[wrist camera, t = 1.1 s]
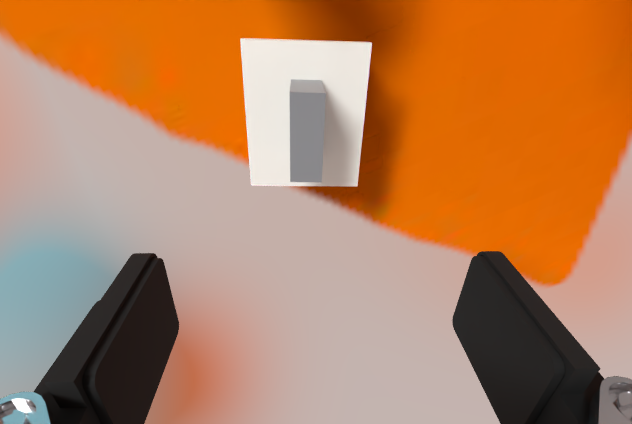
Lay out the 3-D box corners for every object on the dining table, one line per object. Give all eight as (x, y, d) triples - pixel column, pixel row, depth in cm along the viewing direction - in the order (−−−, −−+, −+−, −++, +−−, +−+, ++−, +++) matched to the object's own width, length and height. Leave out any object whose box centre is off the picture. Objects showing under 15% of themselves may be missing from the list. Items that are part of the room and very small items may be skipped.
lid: (243, 37, 25) (228, 44, 19) (367, 41, 25) (386, 49, 20) (253, 176, 30) (243, 212, 25) (354, 177, 31) (366, 213, 25)
